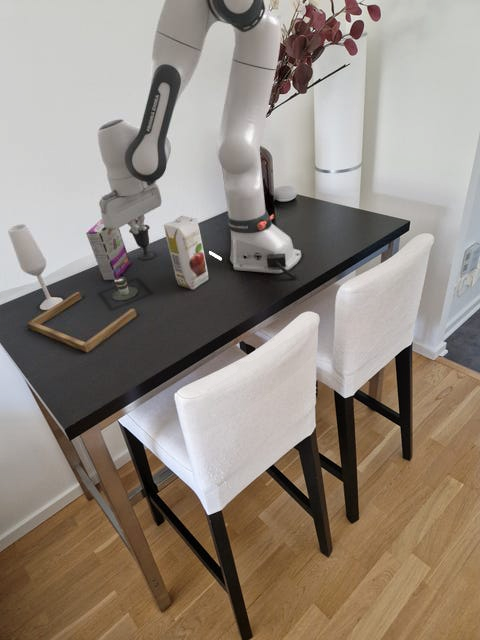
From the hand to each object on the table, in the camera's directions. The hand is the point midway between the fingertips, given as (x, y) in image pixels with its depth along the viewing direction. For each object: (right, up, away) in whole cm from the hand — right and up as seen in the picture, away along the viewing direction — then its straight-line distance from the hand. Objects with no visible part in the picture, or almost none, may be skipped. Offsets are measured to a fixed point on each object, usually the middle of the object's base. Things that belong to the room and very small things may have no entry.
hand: (139, 232), depth 126 cm
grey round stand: (-4, -18, +1) cm, 19 cm away
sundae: (-2, -4, +20) cm, 20 cm away
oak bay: (-13, -26, -10) cm, 31 cm away
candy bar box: (-10, -10, +13) cm, 20 cm away
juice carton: (+16, -15, +1) cm, 22 cm away
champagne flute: (-26, -21, +1) cm, 34 cm away
